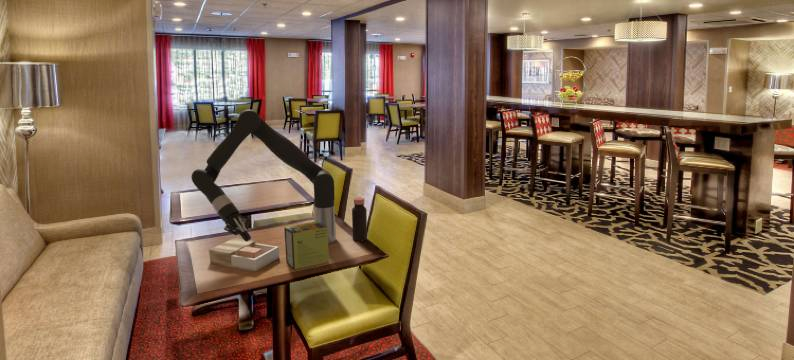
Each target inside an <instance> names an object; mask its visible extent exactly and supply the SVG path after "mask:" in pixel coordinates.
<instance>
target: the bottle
mask: <svg viewBox="0 0 794 360" xmlns="http://www.w3.org/2000/svg"><path fill="white" fill-rule="evenodd" d="M367 213H368V211H367V208H366V207H365V198H364V197H361V196H360V197H355V198H353V207H352V209H351V219H352V220H351V225H352V227H351V228H352V229H351V230H352V240H353V241H354V240H355V241H354V242H357V241H362V240H366V241H367V240H368V231H367V230H368V220H367V219H368V218H367V215H368V214H367ZM362 242H363V241H362Z"/></svg>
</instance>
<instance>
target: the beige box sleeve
mask: <svg viewBox="0 0 794 360" xmlns="http://www.w3.org/2000/svg"><path fill="white" fill-rule="evenodd" d="M255 243H256V240H251V239H250V240H249V241H247V242H246V241H245V240H244V239H243V238H240V237H239V238H238V237H234V238H232V239H230V240H228V241H225V242H223V243H221V244H219V245H217V246H214V247H212V248H210V249H208V253H209V254H208V255H209V262H210V264H212V265H219V266H223V267H228V268H229V267H230V268H233V267H232V265H231V255H236V256H239V252H238V250H240V249H242V248H244V247H253V248H255V245H254V244H255Z"/></svg>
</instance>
